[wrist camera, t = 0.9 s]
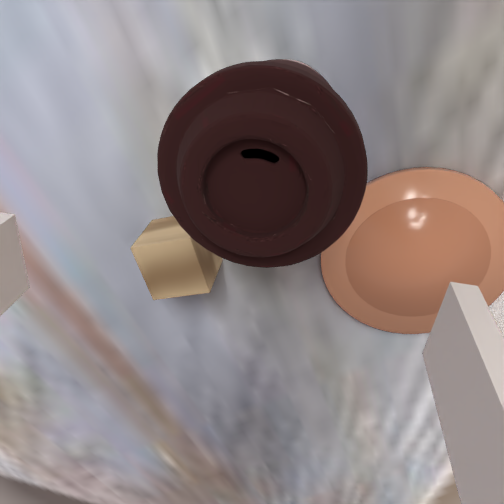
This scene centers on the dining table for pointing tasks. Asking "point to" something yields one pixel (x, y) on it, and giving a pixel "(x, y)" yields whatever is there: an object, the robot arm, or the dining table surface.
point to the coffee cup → (263, 163)
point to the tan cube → (174, 261)
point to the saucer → (416, 248)
